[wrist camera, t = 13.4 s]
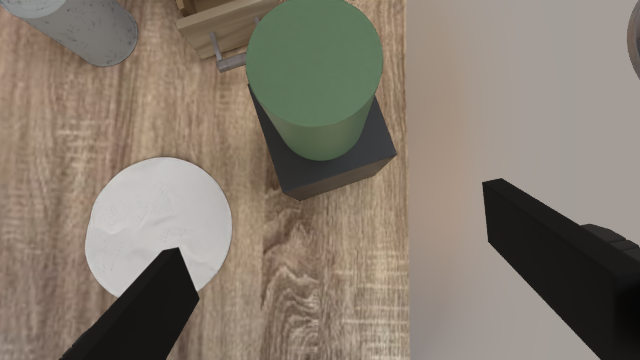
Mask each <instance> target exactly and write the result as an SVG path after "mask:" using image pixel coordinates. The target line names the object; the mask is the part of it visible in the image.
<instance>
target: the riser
mask: <svg viewBox="0 0 640 360" xmlns="http://www.w3.org/2000/svg"><path fill="white" fill-rule="evenodd" d="M248 87H249V90H250V94H251V97H252V100H253V103H254V106H255V109H256V112H257V115H258V118H259V121H260V124H261V127H262V130H263V133H264V137H265V140H266V143H267V146H268V149H269V152H270V155H271V158H272V161H273V164H274V167H275V170H276V173H277V176H278V179H279V183H280V186H281V189H282V192H283V193H284V194H286V195H288V196H291V197H293V198H295V199H297V200H299V201H301V200H304V199H307V198H310V197H313V196H316V195H319V194H322V193H325V192H328V191H331V190H333V189H336V188H339V187H342V186H345V185H348V184H351V183H354V182H357V181H360V180H363V179H366V178H369V177H372V176H375V175H376V174H377V173H378V172H379V171H380V170H381V169H382V168H383V167H384V166H385V165H386V164H387V163H388V162H389V161H390V160H391V159H392V158H394V157H395V156H396V155H397V153H396V150H395V148H394V145H393V142H392V140H391V137H390V134H389V132H388V129H387V126H386V123H385V121H384V118H383V115H382V113H381V110H380V107H379V105H378V102H377V99H376V96H374V98H373V101H372V104H371V107H370V110H369V113H368V116H367V118H366V121H365V124H364V127H363V130H362V132H361V135H360V137H359V139H358V141H357V142H356V143H355V145H354V146H353V147H352V148H351V149H350V150H349V151H347V152H346V153H345V154H343V155H341V156H339V157H337V158H334V159H331V160H325V161H316V160H310V159H307V158H304V157H302V156H300V155H298V154H296V153H295V152H294V151H292V150H291V149H290V148H289V147H288V146H287V144H286V143H285V142H284V140H283V139H282V137H281V135H280V134H279V132H278V131H277V129H276V128H275V126H274V124H273V123H272V121H271V120H270V118H269V117H268V115H267V114H266V112H265V110H264V109H263V107H262V106H261V104H260V103H259V101H258V99H257V98H256V96H255V94H254V93H253V91H252V89H251V87H250V84H248Z"/></svg>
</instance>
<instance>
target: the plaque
mask: <svg viewBox="0 0 640 360" xmlns="http://www.w3.org/2000/svg"><path fill="white" fill-rule="evenodd" d="M231 235H232V218H231V212H230V208H229V205H228V202H227V199H226V197H225V195H224V193H223V191H222V190H221V188H220V187H219V185H218V184H217V183H216V181H215V180H214V179H213V178H212V177H211V176H210V175H209V174H207V173H206V172H205V171H204V170H202V169H201V168H199V167H197V166H196V165H194V164H192V163H190V162H187V161H184V160H180V159H176V158H170V157H158V158H152V159H147V160H144V161H141V162H138V163H136V164H134V165H131V166H129V167H127V168H125V169H124V170H122V171H121V172H120V173H118V174H117V175H116V176H115V177H114V178H113V179H112V180H111V181H110V182H109V183H108V184H107V185H106V186H105V187H104V189H103V190H102V191H101V193H100V194H99V196H98V197H97V199H96V201H95V203H94V206H93V208H92V212H91V218H90V222H89V225H88V228H87V236H86V241H85V254H86V258H87V262H88V265H89V267H90V269H91V271H92V273H93V275H94V276H95V278H96V279H97V280H98V282H99V283H100V284H101V285H102V286H103V287H104V288H105V289H106V290H107V291H108V292H110V293H111V294H113V295H114V296H116V297H118V298H119V297H120V296H121V295H122V294H123V292H124V291H125V290H126V289H127V288H128V287H129V286H130V285H131V284H132V283H133V282H134V281H135V279H136V278H137V277H138V276H139V275H140V274H141V273H142V272H143V271H144V270H145V269H146V268H147V266H148V265H149V264H150V263H151V262H152V261H153V260H154V259H155V258H156V257H157V256H158V255H159V253H160V252H161V251H162V250H166V249H171V248H176V247H179V249H180V251H181V254H182V256H183V259H184V261H185V264H186V266H187V269H188V271H189V274H190V276H191V279H192V281H193V283H194V286H195V288H196V291H199V290H200V289H201V288H203V287H204V286H205V285H206V284H207V283H208V282H209V281H210V280H211V279H212V278H213V277H214V276H215V274H216V273H217V272H218V270H219V269H220V267H221V265H222V264H223V262H224V260H225V257H226V255H227V252H228V249H229V246H230V241H231Z"/></svg>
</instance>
